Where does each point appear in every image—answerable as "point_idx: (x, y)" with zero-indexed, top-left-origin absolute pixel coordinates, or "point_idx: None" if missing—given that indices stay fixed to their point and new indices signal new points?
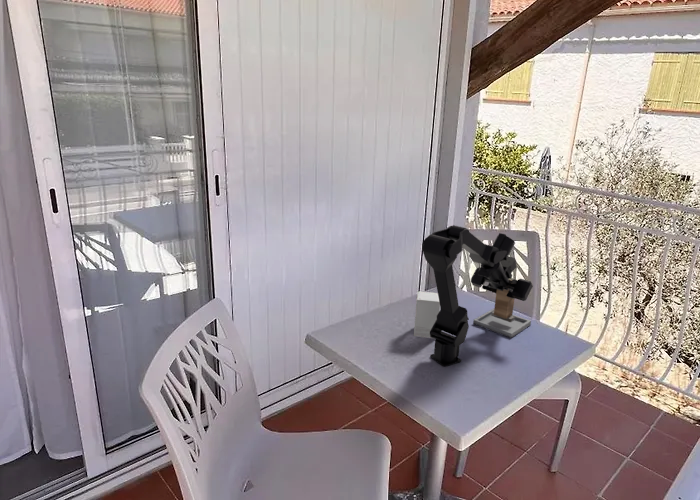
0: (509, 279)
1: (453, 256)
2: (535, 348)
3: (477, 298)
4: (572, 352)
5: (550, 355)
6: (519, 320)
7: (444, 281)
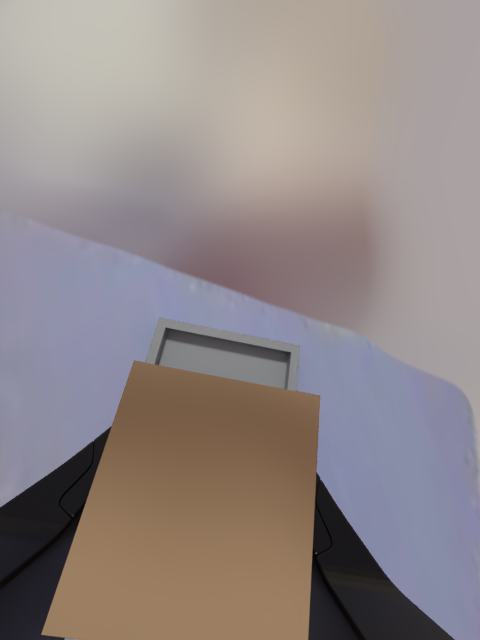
0: (214, 380)
1: None
2: (374, 535)
3: (86, 244)
4: (460, 471)
5: (430, 556)
6: (260, 348)
7: None
